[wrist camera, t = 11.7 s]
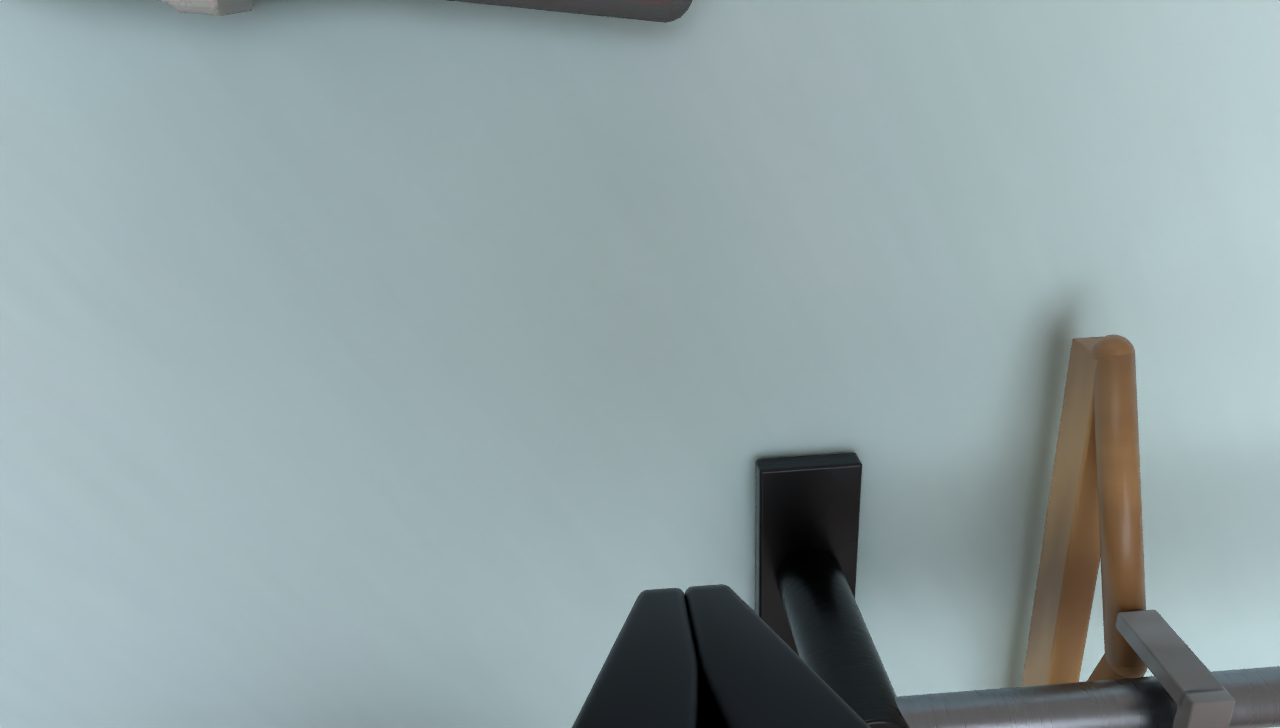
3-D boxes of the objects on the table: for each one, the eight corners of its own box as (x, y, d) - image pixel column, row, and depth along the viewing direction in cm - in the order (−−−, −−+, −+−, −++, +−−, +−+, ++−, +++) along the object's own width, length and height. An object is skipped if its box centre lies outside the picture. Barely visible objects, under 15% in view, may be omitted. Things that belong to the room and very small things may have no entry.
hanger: (1037, 764, 25) (1162, 983, 20) (1008, 767, 25) (1125, 986, 20) (1110, 317, 20) (1303, 448, 15) (1073, 320, 20) (1253, 452, 15)
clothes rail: (1509, 601, 25) (1777, 787, 20) (754, 660, 25) (807, 871, 19) (1587, 400, 23) (1917, 545, 17) (755, 458, 22) (815, 629, 17)
